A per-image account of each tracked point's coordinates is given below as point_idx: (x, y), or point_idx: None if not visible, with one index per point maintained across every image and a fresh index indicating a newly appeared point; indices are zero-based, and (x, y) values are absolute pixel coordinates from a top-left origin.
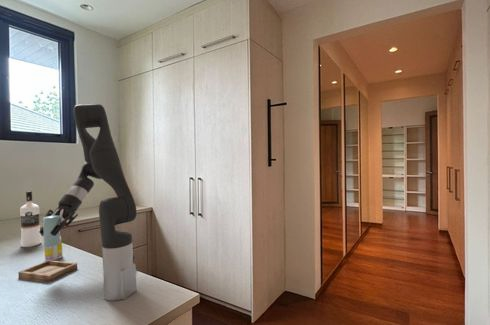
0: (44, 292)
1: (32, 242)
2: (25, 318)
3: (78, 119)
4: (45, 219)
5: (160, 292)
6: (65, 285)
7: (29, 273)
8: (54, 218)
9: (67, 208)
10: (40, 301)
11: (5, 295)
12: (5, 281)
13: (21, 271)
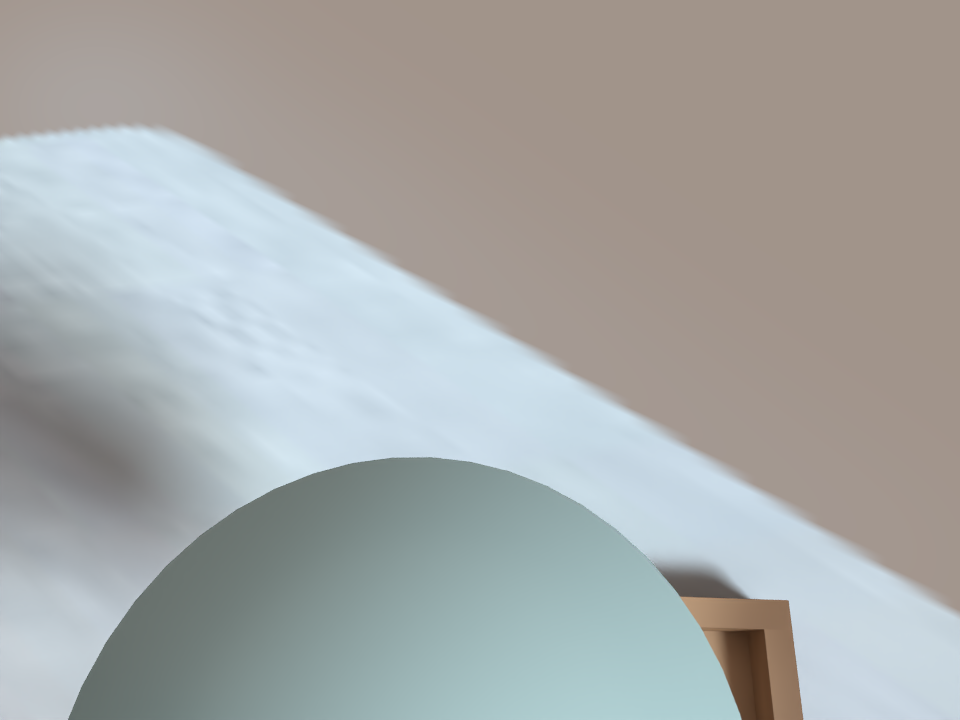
0: (208, 430)
1: None
2: (35, 151)
3: None
4: (379, 472)
5: None
6: (107, 572)
7: None
8: (89, 701)
9: None
10: (113, 316)
11: (504, 341)
12: (808, 530)
13: (772, 619)
